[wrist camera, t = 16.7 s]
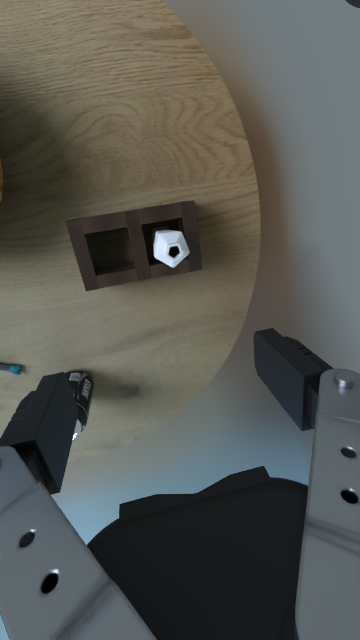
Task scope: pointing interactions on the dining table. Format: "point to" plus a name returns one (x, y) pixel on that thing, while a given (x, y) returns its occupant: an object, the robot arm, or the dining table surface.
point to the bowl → (1, 181)
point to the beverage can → (81, 397)
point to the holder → (133, 244)
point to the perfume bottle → (169, 246)
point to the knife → (11, 368)
